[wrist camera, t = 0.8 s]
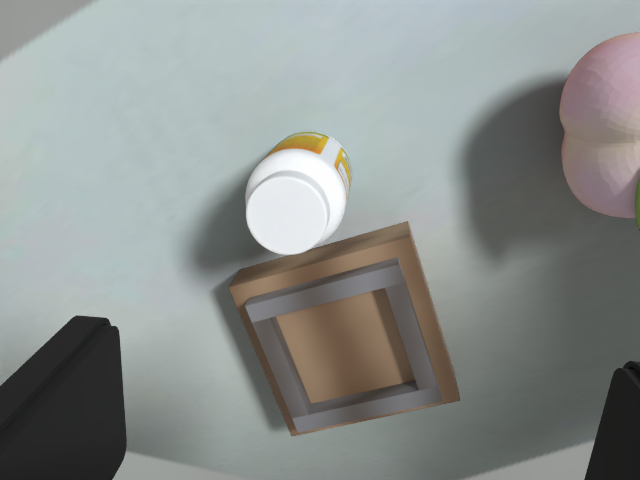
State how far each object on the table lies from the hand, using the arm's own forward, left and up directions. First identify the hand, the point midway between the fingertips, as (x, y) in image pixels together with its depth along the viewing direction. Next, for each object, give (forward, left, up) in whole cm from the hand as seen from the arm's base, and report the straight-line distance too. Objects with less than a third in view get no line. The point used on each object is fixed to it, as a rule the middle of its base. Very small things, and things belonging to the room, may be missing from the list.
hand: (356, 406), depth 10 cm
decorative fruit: (-14, +2, -26) cm, 29 cm away
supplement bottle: (+4, 0, -26) cm, 26 cm away
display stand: (+5, +11, -26) cm, 28 cm away
